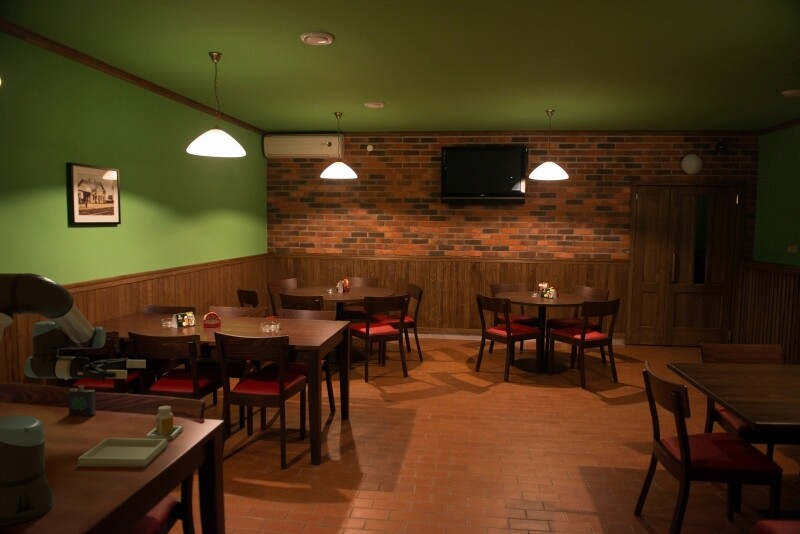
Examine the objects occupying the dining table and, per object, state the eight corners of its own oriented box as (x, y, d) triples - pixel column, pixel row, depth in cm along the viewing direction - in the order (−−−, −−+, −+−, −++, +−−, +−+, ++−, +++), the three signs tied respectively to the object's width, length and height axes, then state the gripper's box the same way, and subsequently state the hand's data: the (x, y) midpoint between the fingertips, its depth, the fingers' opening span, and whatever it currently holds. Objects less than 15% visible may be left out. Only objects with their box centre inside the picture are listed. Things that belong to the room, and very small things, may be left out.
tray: (145, 467, 165) (144, 459, 164) (78, 466, 164) (77, 458, 164) (167, 446, 180) (167, 439, 180) (106, 445, 180) (106, 437, 180)
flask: (96, 414, 209) (96, 384, 209) (91, 417, 206) (91, 387, 205) (71, 413, 210) (70, 383, 209) (66, 416, 207) (65, 386, 206)
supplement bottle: (176, 432, 193) (176, 405, 192) (167, 438, 187) (167, 410, 187) (162, 431, 193) (161, 404, 193) (153, 437, 188) (152, 409, 187)
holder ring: (172, 439, 186) (172, 435, 186) (145, 439, 186) (145, 435, 186) (182, 430, 195) (182, 426, 195) (157, 429, 195) (157, 425, 195)
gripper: (94, 368, 202) (152, 370, 202) (52, 389, 177) (118, 390, 177) (94, 348, 201) (152, 350, 201) (51, 366, 176) (117, 367, 176)
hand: (136, 369), depth 189 cm, fingers open, 13 cm apart
